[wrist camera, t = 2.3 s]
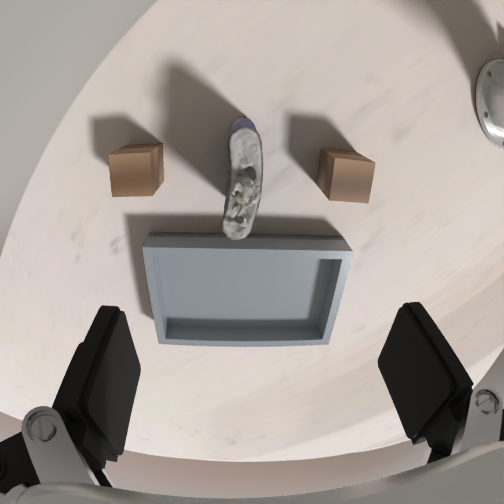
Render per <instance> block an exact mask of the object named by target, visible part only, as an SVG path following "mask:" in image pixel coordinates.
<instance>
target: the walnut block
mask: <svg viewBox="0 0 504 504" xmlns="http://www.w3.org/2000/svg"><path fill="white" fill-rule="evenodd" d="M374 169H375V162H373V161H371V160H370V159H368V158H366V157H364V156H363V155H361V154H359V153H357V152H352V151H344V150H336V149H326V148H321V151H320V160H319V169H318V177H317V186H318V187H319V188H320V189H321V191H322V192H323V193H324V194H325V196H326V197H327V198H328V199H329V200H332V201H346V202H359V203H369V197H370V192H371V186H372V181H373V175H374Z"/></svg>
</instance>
